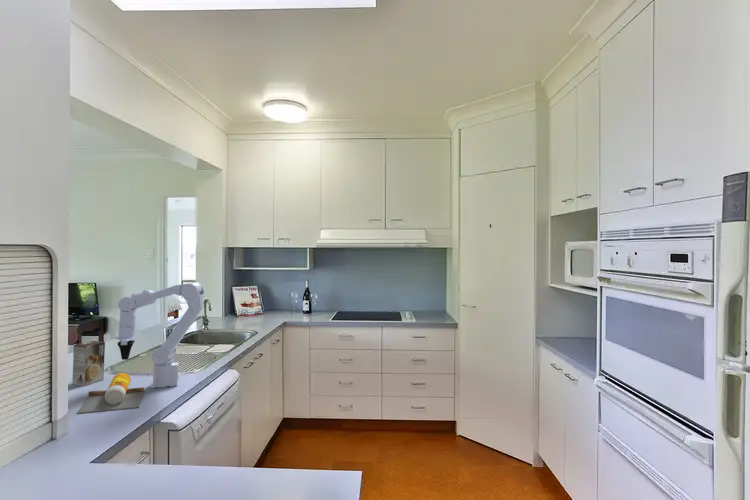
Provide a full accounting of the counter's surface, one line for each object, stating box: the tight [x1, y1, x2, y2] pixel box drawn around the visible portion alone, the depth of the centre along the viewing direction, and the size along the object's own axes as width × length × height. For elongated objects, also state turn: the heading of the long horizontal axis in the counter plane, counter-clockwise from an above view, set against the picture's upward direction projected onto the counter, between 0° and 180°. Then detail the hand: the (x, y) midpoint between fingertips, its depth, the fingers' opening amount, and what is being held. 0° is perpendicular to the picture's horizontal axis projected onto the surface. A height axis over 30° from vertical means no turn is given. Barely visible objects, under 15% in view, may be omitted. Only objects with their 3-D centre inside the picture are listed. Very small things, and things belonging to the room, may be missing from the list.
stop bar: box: [87, 386, 145, 397], centre depth 157 cm, size 18×1×2 cm, turn 114°
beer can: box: [105, 372, 132, 404], centre depth 153 cm, size 6×6×15 cm
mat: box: [76, 391, 145, 415], centre depth 149 cm, size 18×17×1 cm
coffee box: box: [71, 340, 106, 387], centre depth 170 cm, size 9×6×16 cm
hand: (125, 359), depth 169 cm, fingers closed
